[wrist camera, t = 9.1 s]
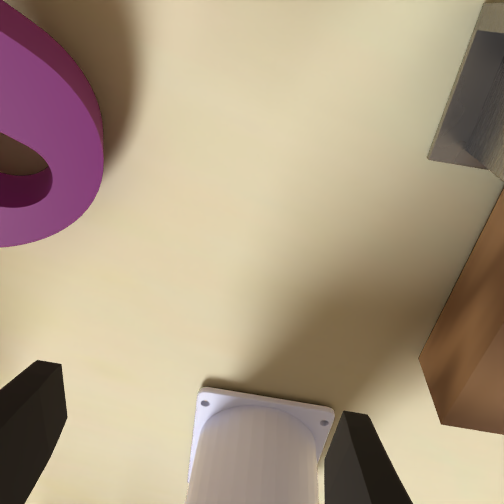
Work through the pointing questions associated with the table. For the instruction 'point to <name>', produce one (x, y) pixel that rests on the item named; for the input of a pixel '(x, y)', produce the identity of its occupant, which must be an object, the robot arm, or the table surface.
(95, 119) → the mounting bracket
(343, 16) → the table surface
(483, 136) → the bracket
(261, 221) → the table surface
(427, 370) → the rail
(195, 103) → the table surface
